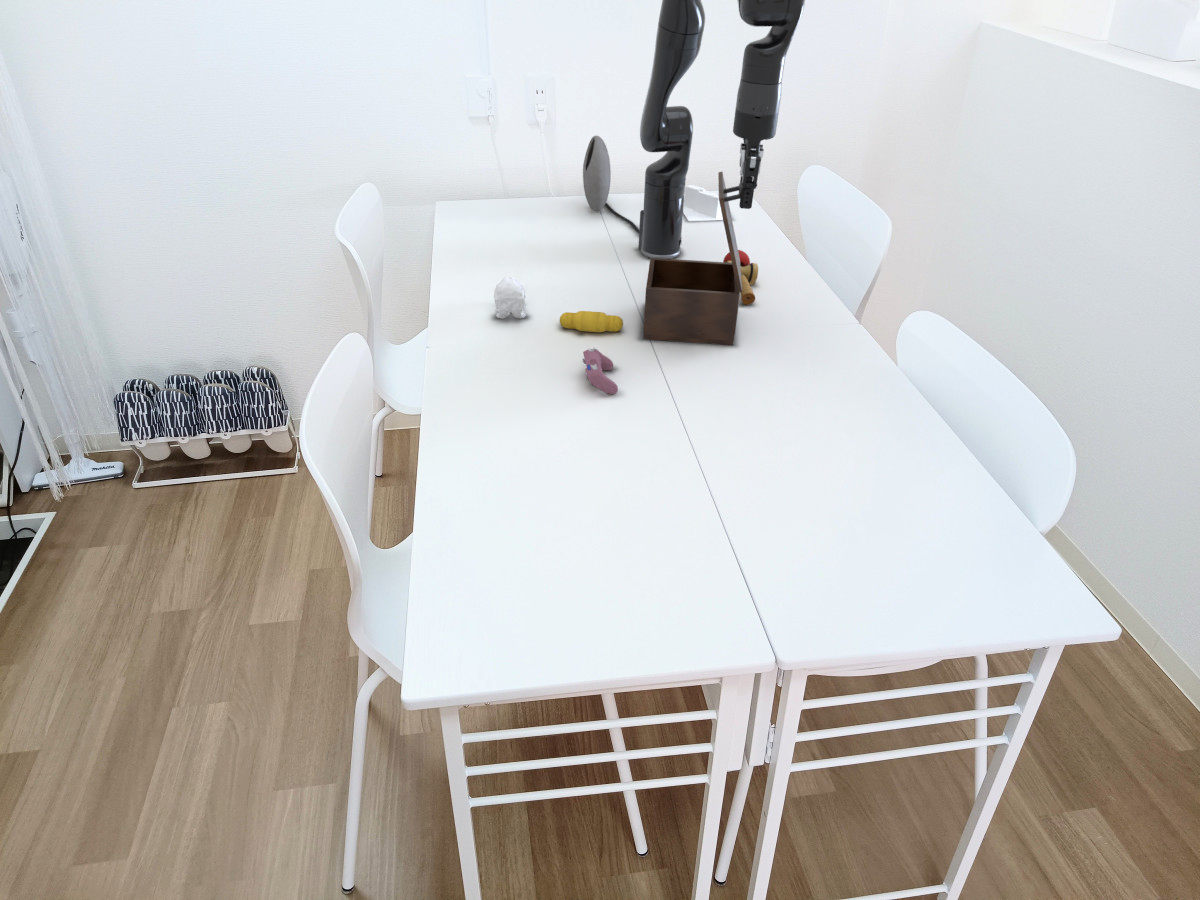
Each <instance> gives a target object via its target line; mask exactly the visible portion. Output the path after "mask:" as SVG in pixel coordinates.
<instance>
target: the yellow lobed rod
mask: <svg viewBox="0 0 1200 900" xmlns="http://www.w3.org/2000/svg"><path fill="white" fill-rule="evenodd" d="M559 324H560V326H561V327H562V328H564V329H568V330H569V329H570V330H576V331H579V332H589V333H603V332H614V333H615V332H619V331H621V330H622V328H623V326H624V321H623V319H622V318H621V317H620V316H619V315H615V314H614V315H612V314H607V313H605V312H603V311H590V310H578V311H577V312H571V311H569V312H568V311H566V312H563V313H562V314H561V315H560V316H559Z"/></svg>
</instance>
